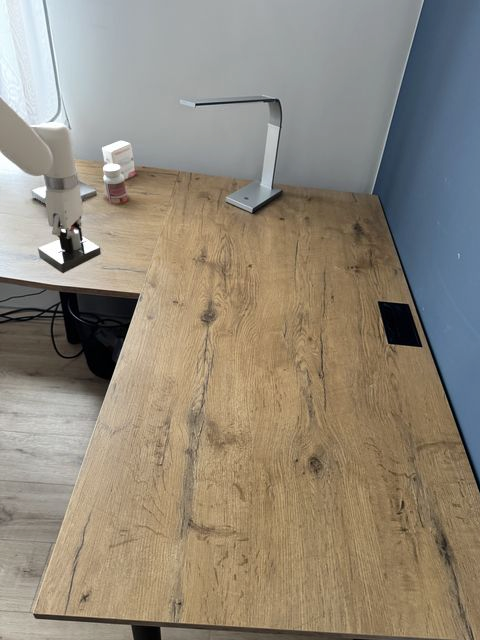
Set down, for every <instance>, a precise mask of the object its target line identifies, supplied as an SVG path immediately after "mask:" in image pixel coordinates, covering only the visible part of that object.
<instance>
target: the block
mask: <svg viewBox="0 0 480 640" xmlns="http://www.w3.org/2000/svg"><path fill="white" fill-rule="evenodd" d="M78 184H79V189H80V193H81V198H82V201H85V200H87V199H89V198H92V197H94V196H97V195H98V194H97V190H96V189H95V188H93V187H91V186H89V185H87V184H86V183H84V182H82V181H80V180H79V179H78ZM46 188H47V187H46V185H43V186H40V187H39V186H38V187H36V188H32V189H31V190H30V193H31V196H33V197H32V198H34V197H35V198H36V200H37V199H38V200H37V201H39V200H40V201H41V202H40V201H39V202H40V203H42V202H43V203H45V204H46V199H45V192H46ZM35 198H34V199H35ZM84 199H85V200H84ZM43 203H42V204H43ZM45 204H44V205H45Z"/></svg>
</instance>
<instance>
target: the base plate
mask: <svg viewBox="0 0 480 640" xmlns="http://www.w3.org/2000/svg"><path fill="white" fill-rule="evenodd" d="M82 238H83V240H82V241H81V248H79V249H78V250H73V251H72V252H71V251H66V250H62V249H61V245H60V240H59V239H57V240H54V241H52V242H49V243H48V244H45V245H42V246H39V247H37V251H38V255H39V256H38V257H39V259H41V260H42V261H44V262H45V263H47V264H48V265H50V266H51V267H53V268H54V269H55V270H57V271H58V272H60V273H61V274H65V273H67V272H69V271H72V270H73V269H75V268H77V267H80V266H81V265H82V264H84V263H87V262H88V261H91V260H93V259H95V258H97V257H98V256H99V257H100V256H101V255H102V252H101V247H100V246H98V245H97V244H96V243H94V242H93V241H91V240H89V239H88V238H86V237H84V235H82Z"/></svg>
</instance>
